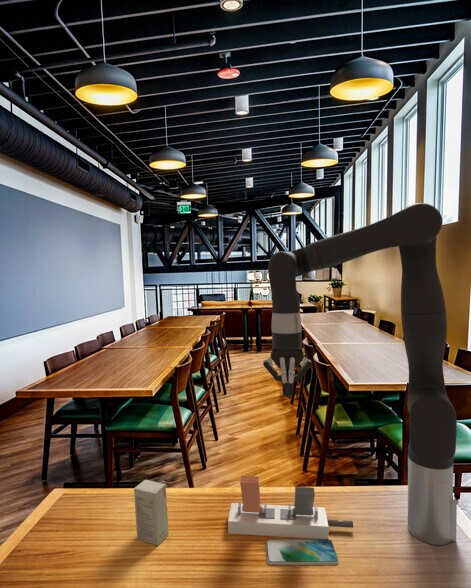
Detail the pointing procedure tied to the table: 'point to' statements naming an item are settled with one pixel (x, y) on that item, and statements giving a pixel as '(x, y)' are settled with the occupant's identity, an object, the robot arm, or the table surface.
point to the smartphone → (301, 552)
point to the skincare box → (151, 511)
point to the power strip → (282, 522)
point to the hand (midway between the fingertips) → (288, 396)
